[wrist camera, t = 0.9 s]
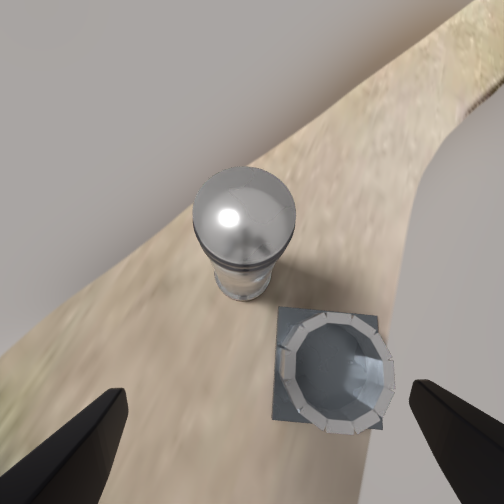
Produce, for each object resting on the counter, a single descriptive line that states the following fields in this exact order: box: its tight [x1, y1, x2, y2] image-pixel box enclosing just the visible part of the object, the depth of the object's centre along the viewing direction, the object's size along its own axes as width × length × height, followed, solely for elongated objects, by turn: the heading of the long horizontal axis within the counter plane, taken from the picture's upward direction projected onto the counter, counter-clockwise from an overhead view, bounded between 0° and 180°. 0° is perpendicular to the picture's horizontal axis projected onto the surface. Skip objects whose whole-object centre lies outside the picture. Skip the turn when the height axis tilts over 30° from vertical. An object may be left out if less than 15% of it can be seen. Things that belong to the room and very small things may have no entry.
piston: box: [193, 166, 296, 301], centre depth 17 cm, size 5×5×13 cm
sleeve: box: [272, 306, 395, 435], centre depth 20 cm, size 9×9×3 cm
